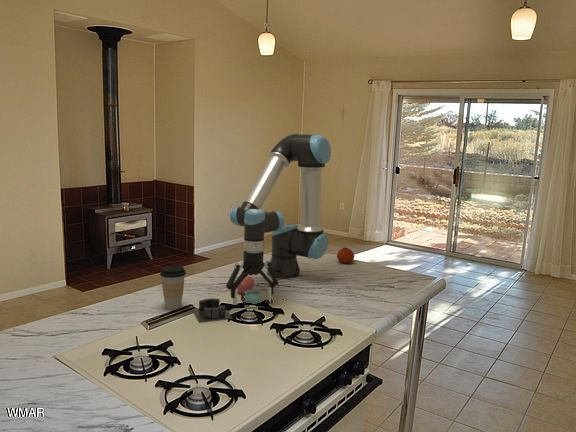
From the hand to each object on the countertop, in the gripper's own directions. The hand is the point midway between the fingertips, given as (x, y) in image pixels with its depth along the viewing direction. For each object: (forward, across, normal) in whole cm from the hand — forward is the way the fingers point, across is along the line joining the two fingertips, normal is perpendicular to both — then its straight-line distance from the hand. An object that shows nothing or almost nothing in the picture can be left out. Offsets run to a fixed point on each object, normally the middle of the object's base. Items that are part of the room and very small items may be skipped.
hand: (252, 304), depth 184 cm
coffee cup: (0, -29, +6) cm, 29 cm away
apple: (0, +1, +13) cm, 13 cm away
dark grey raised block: (0, -17, -5) cm, 18 cm away
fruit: (0, +64, +42) cm, 77 cm away
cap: (0, 0, 0) cm, 0 cm away
